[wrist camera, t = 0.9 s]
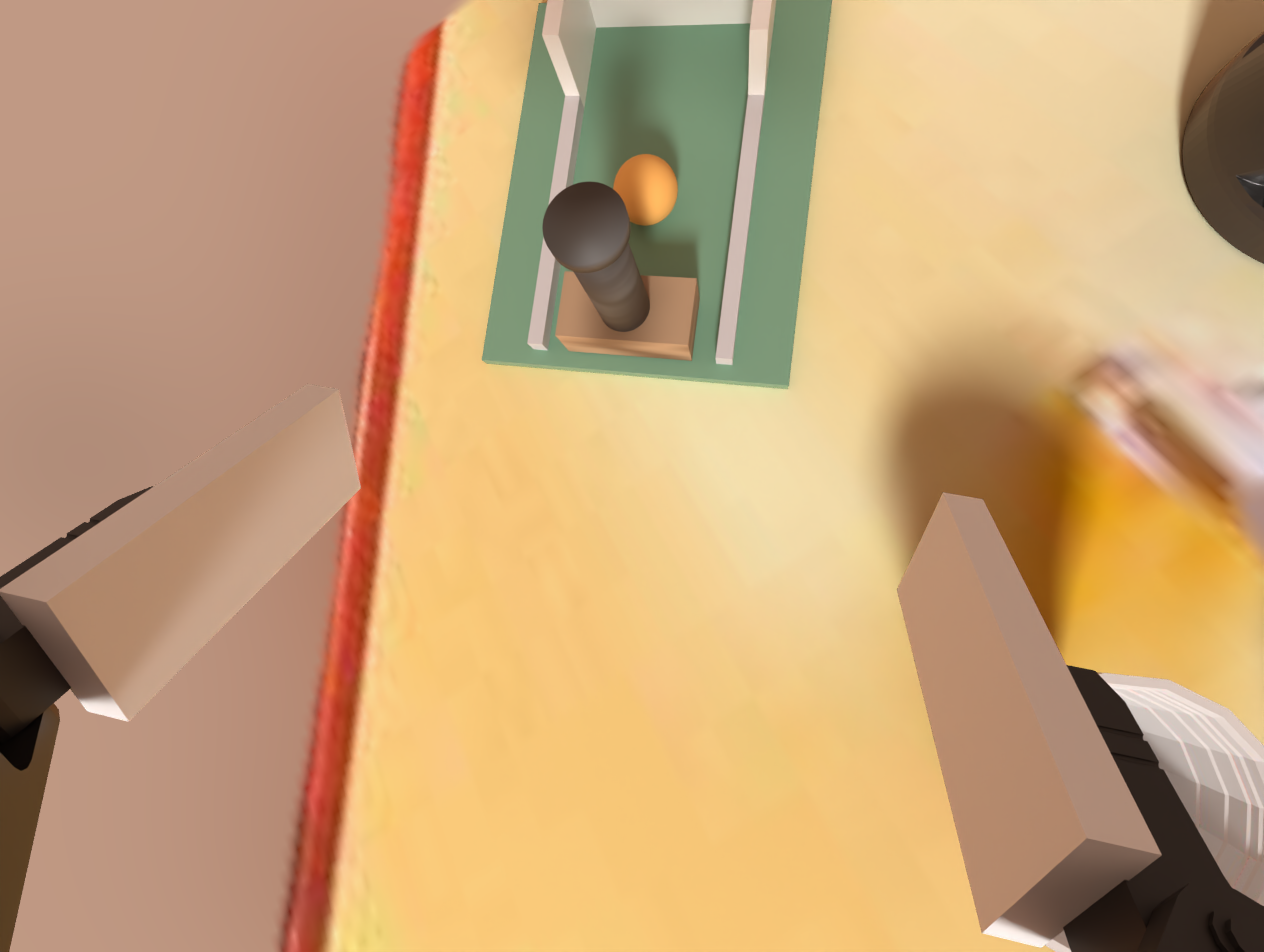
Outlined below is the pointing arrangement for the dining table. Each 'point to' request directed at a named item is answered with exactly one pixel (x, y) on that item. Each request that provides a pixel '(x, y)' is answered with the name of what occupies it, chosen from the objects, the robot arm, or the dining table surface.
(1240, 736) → the plastic cup
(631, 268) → the rubber stamp
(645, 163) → the ball
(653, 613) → the dining table surface
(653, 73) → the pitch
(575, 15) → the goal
